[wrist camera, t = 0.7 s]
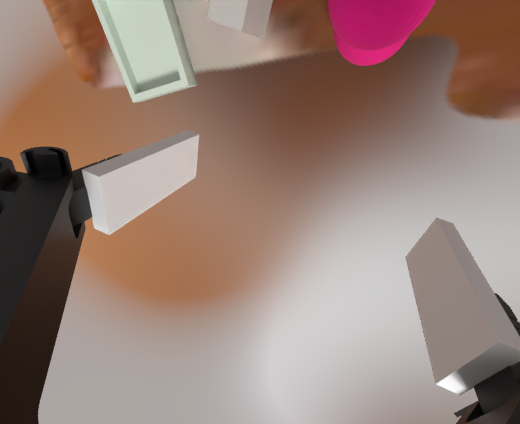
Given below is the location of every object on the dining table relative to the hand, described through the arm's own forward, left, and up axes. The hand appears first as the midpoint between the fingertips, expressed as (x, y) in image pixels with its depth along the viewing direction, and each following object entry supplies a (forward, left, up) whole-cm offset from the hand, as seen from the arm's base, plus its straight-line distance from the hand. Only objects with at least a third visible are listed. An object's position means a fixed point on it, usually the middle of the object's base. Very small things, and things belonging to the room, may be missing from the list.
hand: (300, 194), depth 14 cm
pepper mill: (-9, +5, -24) cm, 26 cm away
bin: (-16, -24, -23) cm, 37 cm away
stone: (-14, -8, -23) cm, 29 cm away
